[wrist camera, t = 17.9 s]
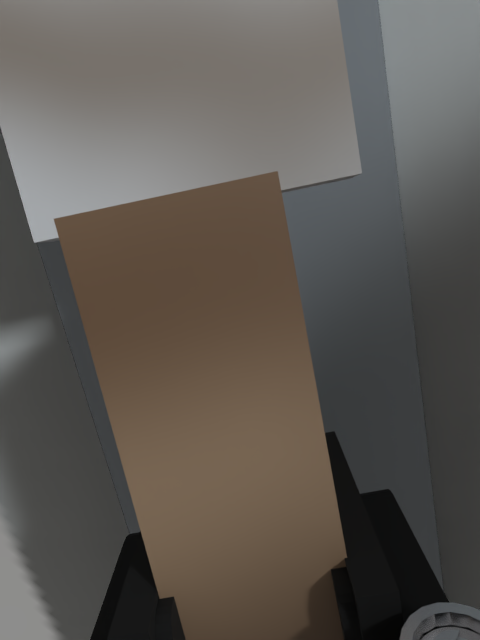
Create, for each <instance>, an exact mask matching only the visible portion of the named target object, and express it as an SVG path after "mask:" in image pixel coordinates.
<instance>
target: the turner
mask: <svg viewBox="0 0 480 640" xmlns="http://www.w3.org/2000/svg"><path fill="white" fill-rule="evenodd" d="M0 127H1V131H2V134H3V138H4V141H5V145H6V148H7V151H8V155H9V158H10V162H11V165H12V169H13V172H14V175H15V179H16V182H17V186H18V189H19V193H20V196H21V200H22V203H23V206H24V210H25V213H26V217H27V220H28V224H29V227H30V231H31V234H32V237H33V241H34V243H38V242H53V241H58V240H60V244H61V247H62V251H63V255H64V258H65V262H66V265H67V269H68V272H69V276H70V280H71V283H72V287H73V290H74V294H75V298H76V301H77V305H78V308H79V312H80V315H81V319H82V323H83V326H84V330H85V333H86V337H87V340H88V344H89V348H90V351H91V355H92V358H93V362H94V366H95V369H96V373H97V376H98V380H99V383H100V387H101V391H102V394H103V398H104V401H105V405H106V409H107V412H108V416H109V419H110V423H111V426H112V430H113V434H114V437H115V441H116V444H117V448H118V452H119V455H120V459H121V462H122V466H123V469H124V473H125V477H126V480H127V484H128V487H129V491H130V495H131V498H132V502H133V505H134V509H135V512H136V516H137V520H138V523H139V527H140V530H141V534H142V537H143V541H144V545H145V548H146V552H147V555H148V559H149V563H150V566H151V570H152V573H153V577H154V580H155V584H156V588H157V591H158V595H159V598H160V599H162V598H168V597H174V599H175V602H176V606H177V610H178V613H179V617H180V621H181V624H182V628H183V632H184V635H185V639H186V640H344V637H343V632H342V627H341V621H340V616H339V611H338V606H337V601H336V595H335V590H334V585H333V580H332V574H331V569H336V568H341V567H346V564H345V559H344V558H347V554H346V548H345V543H344V537H343V532H342V526H341V521H340V515H339V509H338V504H337V498H336V493H335V487H334V482H333V476H332V470H331V465H330V459H329V454H328V448H327V442H326V437H325V431H324V426H323V420H322V415H321V409H320V403H319V398H318V392H317V387H316V381H315V376H314V370H313V364H312V359H311V353H310V348H309V342H308V337H307V331H306V325H305V320H304V314H303V309H302V303H301V298H300V292H299V286H298V281H297V275H296V270H295V264H294V259H293V253H292V247H291V242H290V236H289V231H288V225H287V220H286V214H285V208H284V203H283V197H282V193H285V192H289V191H294V190H299V189H304V188H308V187H313V186H318V185H323V184H327V183H332V182H337V181H342V180H346V179H351V178H353V177H355V176H358V175H360V174H362V169H361V162H360V155H359V148H358V141H357V135H356V128H355V121H354V114H353V107H352V100H351V93H350V86H349V79H348V72H347V65H346V58H345V51H344V44H343V37H342V31H341V24H340V17H339V10H338V3H337V0H0Z"/></svg>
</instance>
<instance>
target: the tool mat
mask: <svg viewBox="0 0 480 640" xmlns="http://www.w3.org/2000/svg"><path fill="white" fill-rule="evenodd" d="M337 3H338V10H339V17H340V24H341V31H342V37H343V44H344V51H345V58H346V65H347V72H348V79H349V86H350V93H351V100H352V107H353V114H354V121H355V128H356V135H357V141H358V148H359V155H360V162H361V169H362V174H360V175H358V176H355V177H353V178H351V179H346V180H342V181H337V182H332V183H327V184H323V185H318V186H313V187H308V188H304V189H299V190H294V191H289V192H285V193H282V197H283V203H284V208H285V214H286V220H287V225H288V231H289V236H290V242H291V247H292V253H293V259H294V264H295V270H296V275H297V281H298V286H299V292H300V298H301V303H302V309H303V314H304V320H305V325H306V331H307V337H308V342H309V348H310V353H311V359H312V364H313V370H314V376H315V381H316V387H317V392H318V398H319V403H320V409H321V415H322V420H323V426H324V431H325V433H327V432H332V431H335V433H336V436H337V438H338V441H339V443H340V446H341V448H342V451H343V453H344V456H345V458H346V460H347V463H348V465H349V468H350V470H351V473H352V475H353V478H354V480H355V483H356V485H357V488H358V490H359V493H360V494H362V493H368V492H373V491H379V490H385V489H389V490H391V492H392V493H393V495H394V497H395V499H396V501H397V503H398V505H399V506H400V508H401V510H402V512H403V514H404V516H405V518H406V520H407V522H408V524H409V526H410V528H411V530H412V532H413V534H414V536H415V537H416V539H417V541H418V543H419V545H420V547H421V549H422V551H423V553H424V555H425V557H426V559H427V561H428V563H429V565H430V566H431V568H432V570H433V572H434V574H435V576H436V578H437V580H438V582H439V584H440V586H441V588H442V590H443V592H444V589H443V580H442V571H441V562H440V553H439V544H438V535H437V526H436V517H435V508H434V499H433V490H432V481H431V472H430V463H429V454H428V445H427V436H426V427H425V418H424V409H423V400H422V391H421V382H420V373H419V364H418V355H417V346H416V337H415V328H414V319H413V310H412V301H411V292H410V283H409V274H408V265H407V256H406V247H405V238H404V229H403V220H402V211H401V202H400V193H399V184H398V175H397V166H396V157H395V148H394V139H393V130H392V121H391V112H390V103H389V94H388V85H387V76H386V67H385V58H384V49H383V40H382V31H381V22H380V13H379V4H378V0H337ZM0 129H1V127H0ZM1 132H2V131H1ZM2 135H3V134H2ZM3 139H4V138H3ZM4 142H5V141H4ZM37 245H38V248H39V251H40V254H41V258H42V261H43V264H44V267H45V270H46V273H47V276H48V280H49V283H50V286H51V289H52V292H53V295H54V298H55V301H56V305H57V308H58V311H59V314H60V317H61V320H62V323H63V327H64V330H65V333H66V336H67V339H68V342H69V345H70V348H71V352H72V355H73V358H74V361H75V364H76V367H77V370H78V374H79V377H80V380H81V383H82V386H83V389H84V392H85V395H86V399H87V402H88V405H89V408H90V411H91V414H92V417H93V421H94V424H95V427H96V430H97V433H98V436H99V439H100V443H101V446H102V449H103V452H104V455H105V458H106V461H107V464H108V468H109V471H110V474H111V477H112V480H113V483H114V486H115V490H116V493H117V496H118V499H119V502H120V505H121V508H122V511H123V515H124V518H125V521H126V524H127V527H128V530H129V533H130V534H132V533H138V532H140V527H139V523H138V520H137V516H136V512H135V509H134V505H133V502H132V498H131V495H130V491H129V487H128V484H127V480H126V477H125V473H124V469H123V466H122V462H121V459H120V455H119V452H118V448H117V444H116V441H115V437H114V434H113V430H112V426H111V423H110V419H109V416H108V412H107V409H106V405H105V401H104V398H103V394H102V391H101V387H100V383H99V380H98V376H97V373H96V369H95V366H94V362H93V358H92V355H91V351H90V348H89V344H88V340H87V337H86V333H85V330H84V326H83V323H82V319H81V315H80V312H79V308H78V305H77V301H76V298H75V294H74V290H73V287H72V283H71V280H70V276H69V272H68V269H67V265H66V262H65V258H64V255H63V251H62V247H61V244H60V240H58V241H53V242H38V243H37Z"/></svg>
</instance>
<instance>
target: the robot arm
mask: <svg viewBox="0 0 480 640" xmlns="http://www.w3.org/2000/svg"><path fill="white" fill-rule="evenodd" d="M325 437H326V442H327V448H328V454H329V459H330V465H331V470H332V476H333V482H334V487H335V493H336V498H337V504H338V509H339V515H340V521H341V526H342V532H343V537H344V543H345V548H346V554H347V558H344V559H345V564H346V567H341V568H336V569H331V574H332V580H333V585H334V590H335V595H336V601H337V606H338V611H339V616H340V621H341V627H342V632H343V637H344V640H480V610H478V609H476V608H474V607H471V606H467V605H463V604H459V603H449V601H448V599H447V597H446V595H445V594H444V592H443V590H442V588H441V586H440V584H439V582H438V580H437V578H436V576H435V574H434V572H433V570H432V568H431V566H430V565H429V563H428V561H427V559H426V557H425V555H424V553H423V551H422V549H421V547H420V545H419V543H418V541H417V539H416V537H415V536H414V534H413V532H412V530H411V528H410V526H409V524H408V522H407V520H406V518H405V516H404V514H403V512H402V510H401V508H400V506H399V505H398V503H397V501H396V499H395V497H394V495H393V493H392V492H391V490H389V489H385V490H379V491H373V492H368V493H362V494H360V493H359V490H358V488H357V485H356V483H355V480H354V478H353V475H352V473H351V470H350V468H349V465H348V463H347V460H346V458H345V456H344V453H343V451H342V448H341V446H340V443H339V441H338V438H337V436H336V433H335V431H332V432H327V433H325ZM90 640H186V639H185V635H184V632H183V628H182V624H181V621H180V617H179V613H178V610H177V606H176V602H175V599H174V597H168V598H162V599H160V598H159V595H158V591H157V588H156V584H155V580H154V577H153V573H152V570H151V566H150V563H149V559H148V555H147V552H146V548H145V545H144V541H143V537H142V534H141V530H140V532H138V533H132V534H129V535H128V536H127V537H126V539H125V541H124V544H123V547H122V550H121V553H120V555H119V558H118V561H117V564H116V567H115V570H114V573H113V576H112V579H111V581H110V584H109V587H108V590H107V593H106V596H105V599H104V602H103V604H102V607H101V610H100V613H99V616H98V619H97V622H96V625H95V628H94V630H93V633H92V636H91V639H90Z"/></svg>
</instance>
